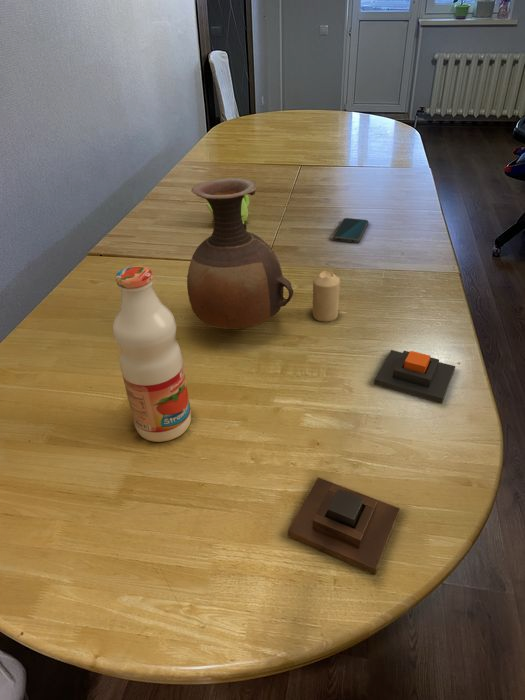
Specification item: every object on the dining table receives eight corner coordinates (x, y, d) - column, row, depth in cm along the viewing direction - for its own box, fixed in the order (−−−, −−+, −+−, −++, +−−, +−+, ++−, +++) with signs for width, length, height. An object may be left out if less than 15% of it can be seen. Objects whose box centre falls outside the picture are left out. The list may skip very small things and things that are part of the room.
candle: (339, 321, 110) (341, 279, 104) (313, 322, 110) (314, 280, 104) (336, 308, 115) (338, 267, 109) (311, 309, 115) (312, 268, 109)
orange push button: (454, 371, 95) (457, 358, 93) (441, 403, 88) (444, 390, 86) (390, 354, 100) (392, 341, 98) (373, 384, 93) (375, 371, 91)
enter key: (429, 363, 93) (430, 355, 92) (423, 374, 90) (425, 366, 89) (409, 358, 94) (410, 350, 93) (403, 369, 92) (404, 361, 91)
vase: (308, 327, 109) (310, 185, 91) (240, 369, 98) (228, 216, 80) (235, 292, 122) (225, 162, 105) (169, 325, 112) (145, 186, 94)
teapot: (215, 215, 163) (212, 184, 157) (251, 215, 162) (249, 184, 156) (208, 230, 154) (204, 197, 148) (246, 230, 152) (244, 198, 147)
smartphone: (331, 240, 144) (331, 237, 143) (343, 220, 155) (344, 217, 155) (358, 243, 142) (359, 240, 141) (369, 222, 153) (369, 219, 153)
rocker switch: (363, 507, 68) (363, 498, 67) (353, 528, 66) (354, 519, 65) (337, 497, 70) (338, 488, 69) (327, 517, 67) (327, 509, 66)
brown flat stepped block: (399, 513, 70) (401, 499, 69) (375, 574, 63) (377, 560, 62) (317, 482, 75) (318, 468, 73) (287, 536, 68) (287, 521, 66)
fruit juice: (149, 401, 91) (117, 256, 75) (199, 408, 89) (178, 260, 73) (126, 439, 84) (85, 287, 68) (180, 447, 82) (152, 292, 66)
